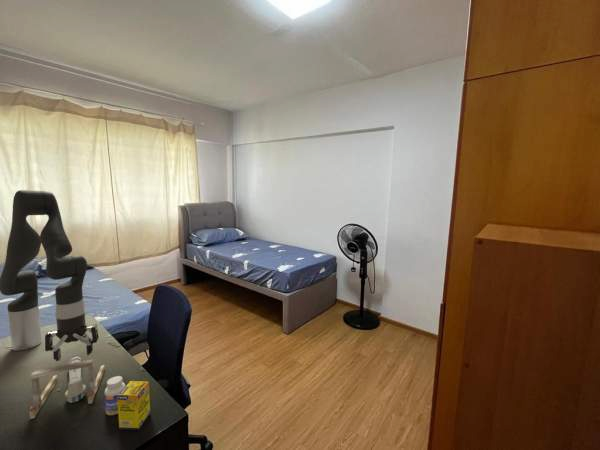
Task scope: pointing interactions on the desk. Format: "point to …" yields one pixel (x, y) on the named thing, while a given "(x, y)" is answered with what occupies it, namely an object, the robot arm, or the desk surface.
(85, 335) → the robot arm
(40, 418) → the desk surface
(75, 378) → the white electric toothbrush
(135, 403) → the supplement box
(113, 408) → the pill bottle
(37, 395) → the tan holder stand
